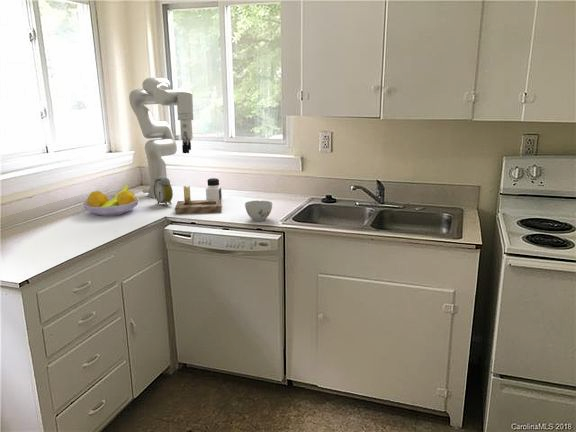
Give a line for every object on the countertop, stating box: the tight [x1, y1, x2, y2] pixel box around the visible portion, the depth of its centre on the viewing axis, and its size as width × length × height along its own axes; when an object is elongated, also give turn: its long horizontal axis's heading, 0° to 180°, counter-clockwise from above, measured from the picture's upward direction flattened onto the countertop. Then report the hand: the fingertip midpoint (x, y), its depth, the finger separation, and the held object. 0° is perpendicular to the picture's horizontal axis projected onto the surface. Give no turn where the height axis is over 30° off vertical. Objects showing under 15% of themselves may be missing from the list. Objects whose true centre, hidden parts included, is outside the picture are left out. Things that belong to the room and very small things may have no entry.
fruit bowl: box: [81, 183, 139, 217], centre depth 236 cm, size 28×27×11 cm
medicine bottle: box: [205, 177, 223, 201], centre depth 257 cm, size 7×7×12 cm
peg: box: [183, 185, 192, 205], centre depth 238 cm, size 5×5×12 cm
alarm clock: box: [154, 176, 174, 208], centre depth 248 cm, size 12×7×15 cm, turn 41°
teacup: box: [244, 200, 273, 222], centre depth 221 cm, size 15×12×8 cm
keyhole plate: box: [174, 199, 222, 215], centre depth 239 cm, size 22×14×3 cm, turn 97°
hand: (186, 151), depth 241 cm, fingers open, 9 cm apart
